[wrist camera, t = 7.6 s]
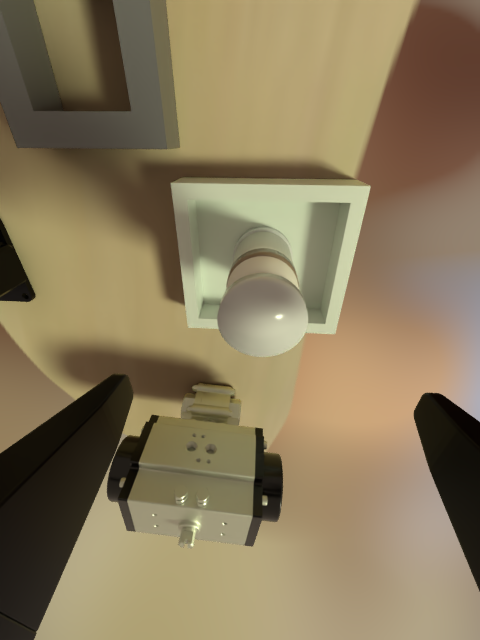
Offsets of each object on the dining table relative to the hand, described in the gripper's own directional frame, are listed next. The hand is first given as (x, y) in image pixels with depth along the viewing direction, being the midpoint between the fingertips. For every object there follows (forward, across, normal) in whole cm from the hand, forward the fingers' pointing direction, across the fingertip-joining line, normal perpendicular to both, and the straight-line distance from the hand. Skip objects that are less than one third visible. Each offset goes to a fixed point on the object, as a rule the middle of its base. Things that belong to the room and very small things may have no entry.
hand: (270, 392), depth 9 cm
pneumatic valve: (+12, +4, +14) cm, 19 cm away
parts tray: (+12, 0, 0) cm, 12 cm away
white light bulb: (+12, 0, 0) cm, 12 cm away
